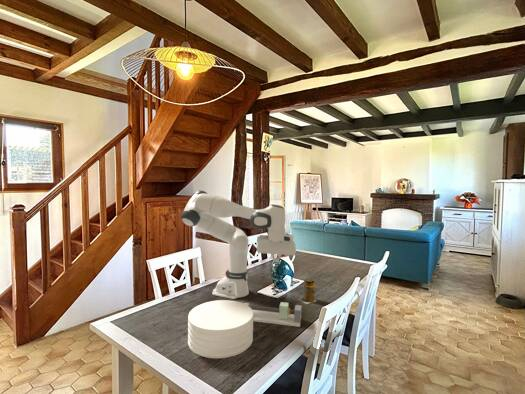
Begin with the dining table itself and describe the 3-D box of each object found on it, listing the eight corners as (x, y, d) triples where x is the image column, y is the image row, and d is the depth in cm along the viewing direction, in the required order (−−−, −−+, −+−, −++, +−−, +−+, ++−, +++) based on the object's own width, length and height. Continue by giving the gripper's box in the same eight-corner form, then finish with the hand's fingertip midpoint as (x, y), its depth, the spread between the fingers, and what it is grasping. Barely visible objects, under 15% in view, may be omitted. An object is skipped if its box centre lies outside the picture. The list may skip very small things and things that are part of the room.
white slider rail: (239, 319, 141) (239, 305, 141) (245, 310, 151) (245, 297, 151) (299, 326, 135) (300, 312, 135) (301, 317, 145) (301, 303, 145)
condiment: (317, 301, 165) (317, 281, 165) (306, 304, 161) (307, 283, 160) (308, 296, 171) (309, 277, 171) (298, 299, 167) (298, 279, 166)
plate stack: (217, 368, 104) (217, 338, 104) (174, 340, 123) (174, 314, 122) (265, 337, 126) (266, 312, 125) (223, 317, 144) (223, 295, 143)
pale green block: (279, 318, 140) (279, 305, 140) (280, 314, 144) (280, 302, 144) (287, 319, 139) (287, 306, 139) (288, 315, 144) (288, 302, 143)
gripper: (255, 235, 146) (255, 262, 147) (295, 238, 141) (294, 265, 142) (258, 233, 152) (258, 259, 153) (296, 236, 147) (295, 262, 148)
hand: (276, 262), depth 147 cm, fingers closed
